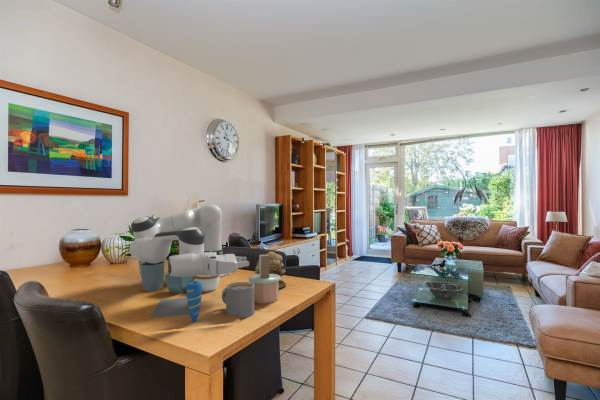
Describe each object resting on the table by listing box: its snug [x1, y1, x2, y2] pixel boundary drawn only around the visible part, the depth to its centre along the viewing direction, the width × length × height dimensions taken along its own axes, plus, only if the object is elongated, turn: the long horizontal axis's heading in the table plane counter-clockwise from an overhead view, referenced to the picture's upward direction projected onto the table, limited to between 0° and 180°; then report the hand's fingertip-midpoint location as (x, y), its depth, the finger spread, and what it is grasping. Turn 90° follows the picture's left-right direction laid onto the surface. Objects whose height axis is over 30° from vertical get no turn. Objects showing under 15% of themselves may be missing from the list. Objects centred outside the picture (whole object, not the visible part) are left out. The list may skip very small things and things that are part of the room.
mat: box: [149, 297, 203, 319], centre depth 115 cm, size 20×16×1 cm
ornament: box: [185, 278, 203, 323], centre depth 100 cm, size 5×5×15 cm
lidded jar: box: [194, 274, 221, 293], centre depth 136 cm, size 11×11×9 cm
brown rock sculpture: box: [254, 251, 287, 291], centre depth 141 cm, size 18×12×17 cm, turn 137°
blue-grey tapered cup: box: [139, 260, 165, 292], centre depth 142 cm, size 10×10×12 cm
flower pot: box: [164, 273, 194, 294], centre depth 134 cm, size 9×9×9 cm
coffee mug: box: [221, 281, 255, 319], centre depth 110 cm, size 13×10×10 cm
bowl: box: [253, 281, 280, 305], centre depth 124 cm, size 11×11×8 cm
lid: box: [247, 253, 281, 284], centre depth 124 cm, size 13×13×10 cm
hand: (247, 261), depth 122 cm, fingers open, 8 cm apart
